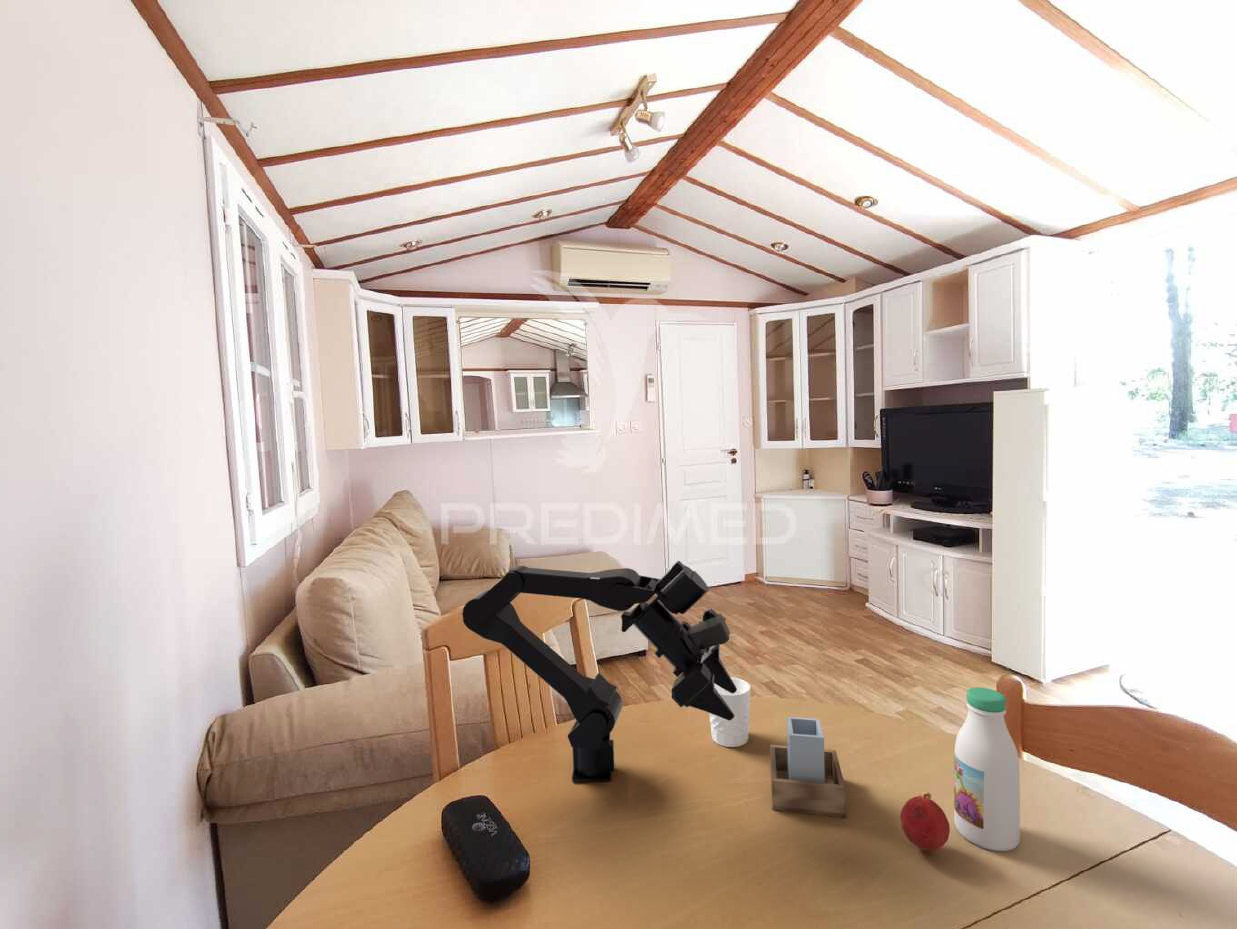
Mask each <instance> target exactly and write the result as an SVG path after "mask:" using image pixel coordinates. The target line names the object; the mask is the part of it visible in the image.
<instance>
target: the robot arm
mask: <svg viewBox="0 0 1237 929" xmlns="http://www.w3.org/2000/svg"><path fill="white" fill-rule="evenodd" d="M709 591H710V590H709V587H708V585H707V583H706V582H705V580H704V579H703V577H701V576H700V574H698V572H697V571H695V570H692V569H691V568H690V567H689V566H687V565H685V564H684V563H682V561H680V560H677V561H676V562H675V563H674V564H672V567H671V568H670V569H669V570H668V572H666V573H665V574H664V575H663V576H662V577H661V578H657V577H651V576H646V575H640V574H639V573H638V571H636V570H634V569H632V568H629V567H628V568H627V567H625V568H614V569H611V568H610V569H607V570H600V571H595V572H582V571H581V572H580V571H571V570H560V569H559V570H558V569H549V568H548V569H547V568H537V567H536V568H535V567H528V566H525V565H518V566H516V567H514V568H513V569H511V570H509V571H507V572H506V574H505V575H504V577H502V579H500V580H499V581H498V582H497V583H496V584H495V585H493V586H492V587H491V588H490V589H487V590H485V591H483V592H482V593H480V594H478V595H476V596H475V597H473V598H471V599H470V600H468V601H467V602H466V603H465V605H464V606H463V609H462V613H461V614H462V622H463V625H464V626H465V627H466V628H467V629H468V630H469V631H471V632H472V633H474V634H476V635H478V636H479V637H480V638H482V639H484V640H488V641H491V642H494V643H497V644H499V645H500V644H501V645H502V646H504V647H505V648H506V649H507V650H508V651H509V652H510V653H512V654H513V655H514V656H515V657H516V658H517V659H518V660H520V661H521V662H522V663H523V664H524V665H526V667H527V668H529V669H530V670H531V671H532V672H533V673H534V674H535V675H537V676H538V677H539V678H540V679H542V681H544V682H545V683H546V684H547V685H548V686H550V688H552V689H553V690H554V691H555V692H556V693H557V694H559V695H560V697H562V698H563V699H564V701H565V702H566V704H567V705H568V707H569V708H568V709H569V710H570V712H571V714H572V717H573V718H574V719H575V722H574V724H573V725H572V727H571V729H570V730H569V732H568V734H567V738H568V742H569V744H570V747H571V748H572V766H573V767H572V768H573V769H572V774H571V780H572V782H574V783H575V782H577V783H578V782H609V781H611V780H612V772H614V771H615V741H614V740H613V739H611V732H612V731H613V730H614V727H615V725H616V724H617V721H618V718H619V716H620V714H621V711H622V708H623V703H622V697H621V695H620V693H619V692H618V691H617V686H616V685H615V684H614V685H613V684H611V683H610V682H609V681H608V680H607V679H606V678H605V677H604V676H603V675H602V674H601V673H597V674H596V675H595V677H594V678H592V677H590V676H589V677H588V676H586V675H583V674H582V673H581V672H579V671H578V670H577V669H576V668H575V667H574V666H572V665H571V664H570V663H569V662H568V661H567V660H565V659H564V658H563V657H562V656H561V655H560V654H558V653H557V652H556V651H555V650H554V649H553V648H551V647H550V646H549V645H548V644H547V643H546V642H545V641H544V640H542V639H541V638H540V637H539V636H537V635H536V634H535V633H534V632H533V631H532V630H530V629H529V628H528V627H527V625H525V624H524V623H523V622H522V621H521V618H520V616H519V615H518V613H517V610H516V608H515V607H514V605H513V604H512V602H513V601H514V600H515V599H516V598H517V597H518V596H519V595H520V594H528V595H529V594H530V595H541V596H551V597H561V598H562V597H563V598H569V599H570V598H572V599H579V600H580V599H581V600H585V601H590V602H591V603H593V604H595V605H597V606H599V607H603V608H605V609H608V610H612V611H617V612H622V613H621V615H620V618H621V632H622V633H625V632H627V631H628V630H629V629H630V628H631V627H632V626H634V628H636V629H637V630H638V631H639V632H640V634H642V636H643V637H644V638H646V640H647V641H648V642H649V643H650V644H651V645H652V646H653V647H654V648H655V649H656V650H655V652H654V655H656V656H657V657H658V659H659V658H661V657H664V659H665V660H666V661H667V662H668V663H669V664H670V665H671V666H672V667H673V672H672V674H673V675H674V676H676V678H675V679H674V681H673V684H672V687H671V699H672V700H673V701H674V702H675V703H676V704H677V705H678V706H679V708H683V707H686V708H688V707H691V708H694V709H696V710H700V711H704V712H707V713H708V714H709V713H711V714H714V715H716V716H719V717H721V718H724V719H726V720H729V721H730V720H732V719H733V718H734V714H733V712H732V711H731V709H730V708H729V706H728V705H727V704H726V702H725V701H724V700H723V698H722V697H721V696H720V694H719V693H718V691H717V690H716V689H715V687H714V683H715V684H716V685H718V686H720V687H721V688H723V689H725V690H727V691H728V692H730V693H732V694H733V693H734V692H736V691H737V688H736V686H735V684H734V683H733V681H732V679H731V676H730V674H729V672H728V671H727V669H726V667H725V665H724V664H723V661H722V660H721V656H720V654H721V653H720V648H721V645H724V644H726V643H728V641H730V635H731V631H730V629H729V627H728V625H727V622H726V620H727V619H726V617H724V616H723V614H721V613H717V612H716V611H715V610H714V609H712V608H710V609H707V610H705V611H703V614H702V621H698V623H697V624H695V625H693V626H692V625H691V624H690V623H688V621H684V620H683V621H681V622H680V621H679V620H678V619H677V618H676V617H675V616H674V615H678V614H681V615H684V614H686V613H687V612H689V610H690V609H692V607H693V606H695V604H697V603H698V601H699V602H700V600H701V599H702V598H703V597H704V596H705V595H706V594H707V593H708V592H709ZM654 595H655V596H654ZM636 604H637V605H636ZM635 605H636V606H635ZM633 606H635V607H634V608H633V609H632V610H631V611H628V610H630V609H631V608H632V607H633ZM673 614H674V615H673Z"/></svg>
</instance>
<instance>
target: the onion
mask: <svg viewBox="0 0 1237 929" xmlns="http://www.w3.org/2000/svg"><path fill="white" fill-rule="evenodd" d="M931 798H932V795H931V794H930V792H928V791H922V792H921V793H920V794H919V795H917V796H914V797H911V798H909V799H908V800H907V801H905V804H904V805H903V806H902V807H901V811H900V818H899V819H900V825H901V829H902V831H903V834H904V835H905V837H906V838H907V839H908V840H909V842H910V843H911V844H912V845H914V846H915V847H917V848H919V849H920V850H922V851H923V852H931V851H935V850H938V849H939V848H942V847H944V846H945V845H946V843H947V842H948V839H949V837H950V831H951V827H950V826H951V825H950V822H949V820H948V818H947V816H946V813H945V812H944V810H943V809H942V807H941V806H940V805H938V803H937V802H935V801H934V800H932V799H931Z"/></svg>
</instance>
